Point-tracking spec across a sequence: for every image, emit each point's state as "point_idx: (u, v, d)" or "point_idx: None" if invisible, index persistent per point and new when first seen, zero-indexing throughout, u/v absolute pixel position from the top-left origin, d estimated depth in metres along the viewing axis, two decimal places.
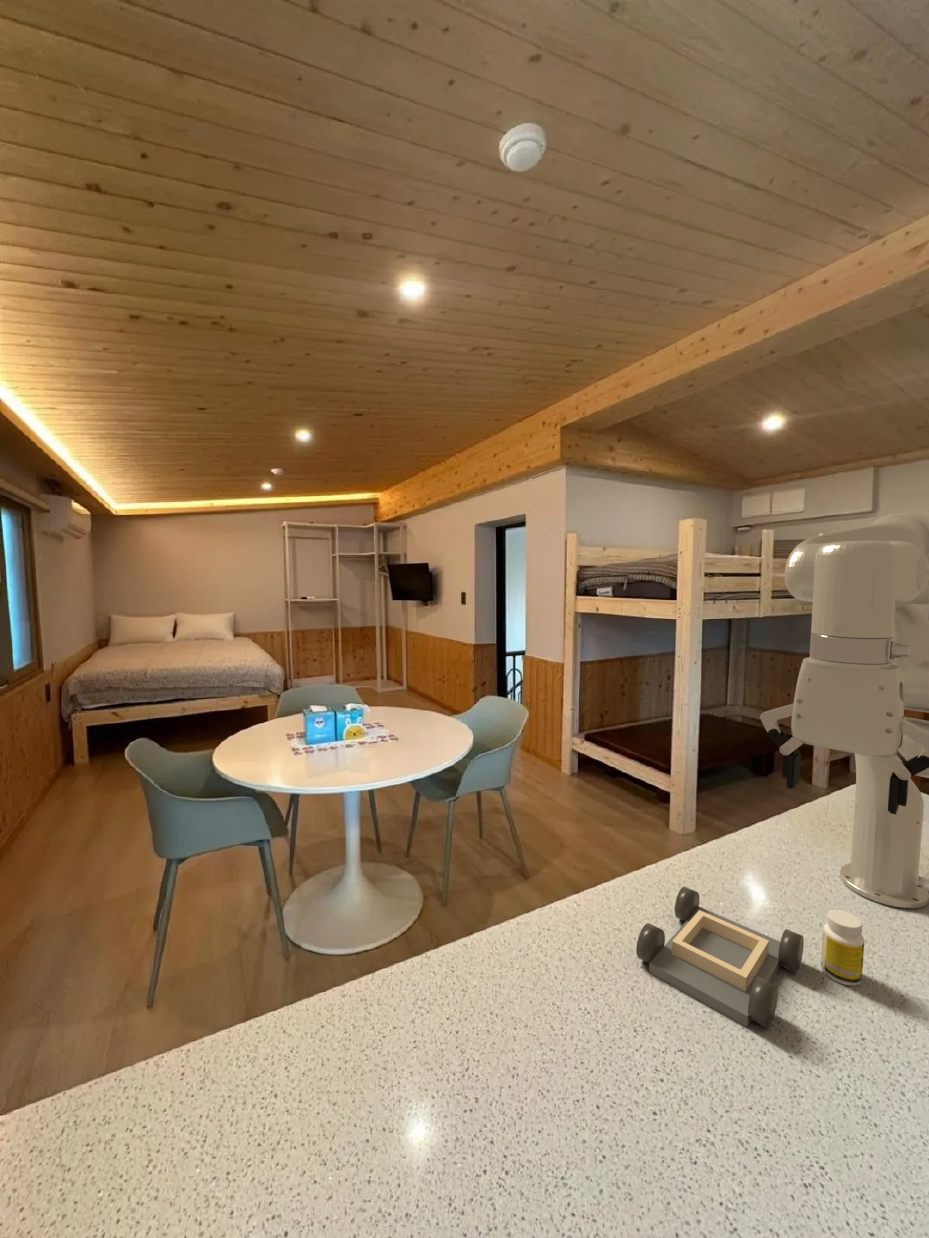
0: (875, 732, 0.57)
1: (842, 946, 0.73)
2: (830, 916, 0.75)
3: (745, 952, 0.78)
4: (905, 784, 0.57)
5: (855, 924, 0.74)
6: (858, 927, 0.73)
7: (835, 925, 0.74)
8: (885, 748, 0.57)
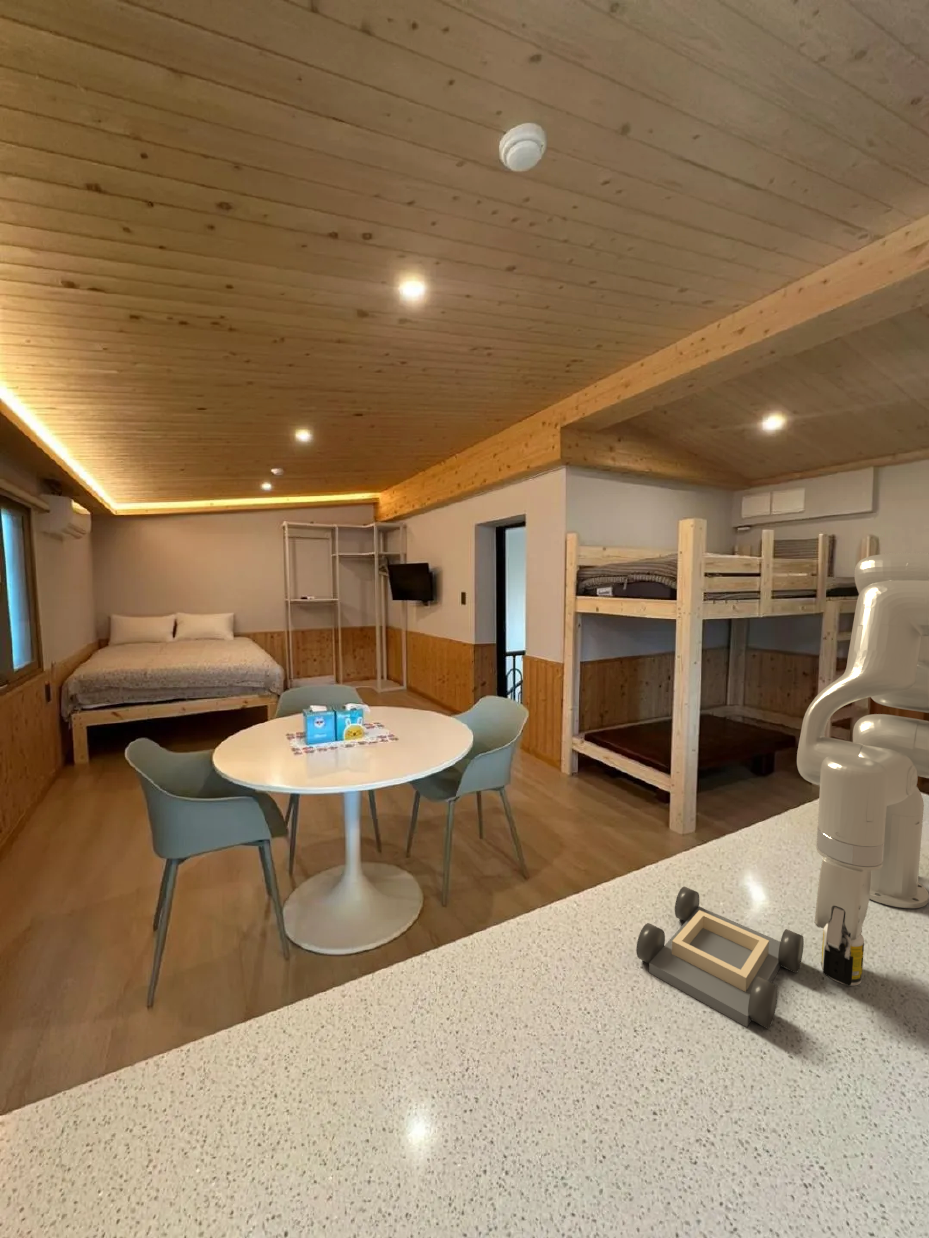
0: None
1: None
2: None
3: (745, 952, 0.78)
4: None
5: None
6: None
7: None
8: None
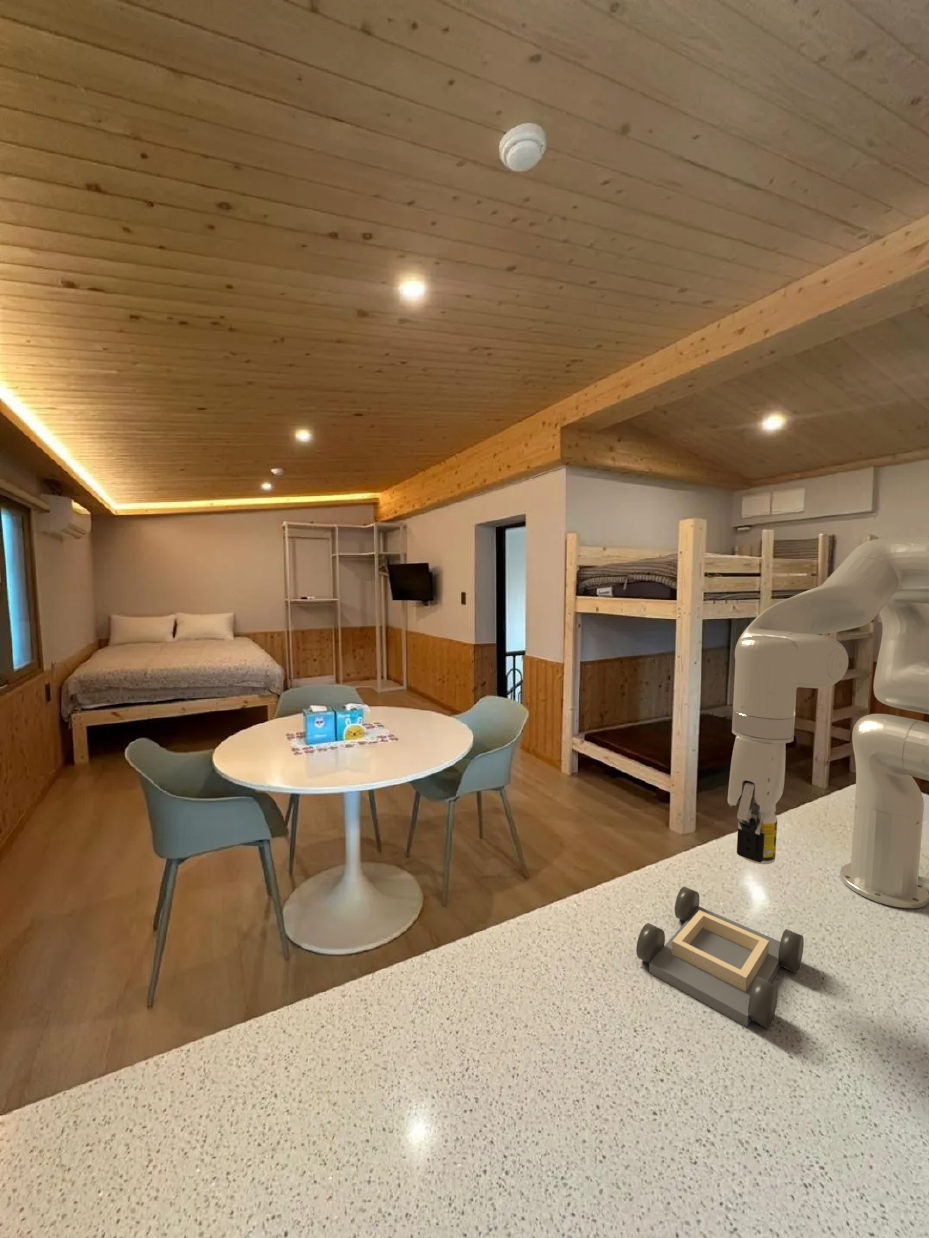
0: (783, 781, 0.75)
1: None
2: None
3: (745, 952, 0.78)
4: None
5: None
6: None
7: None
8: (782, 790, 0.76)
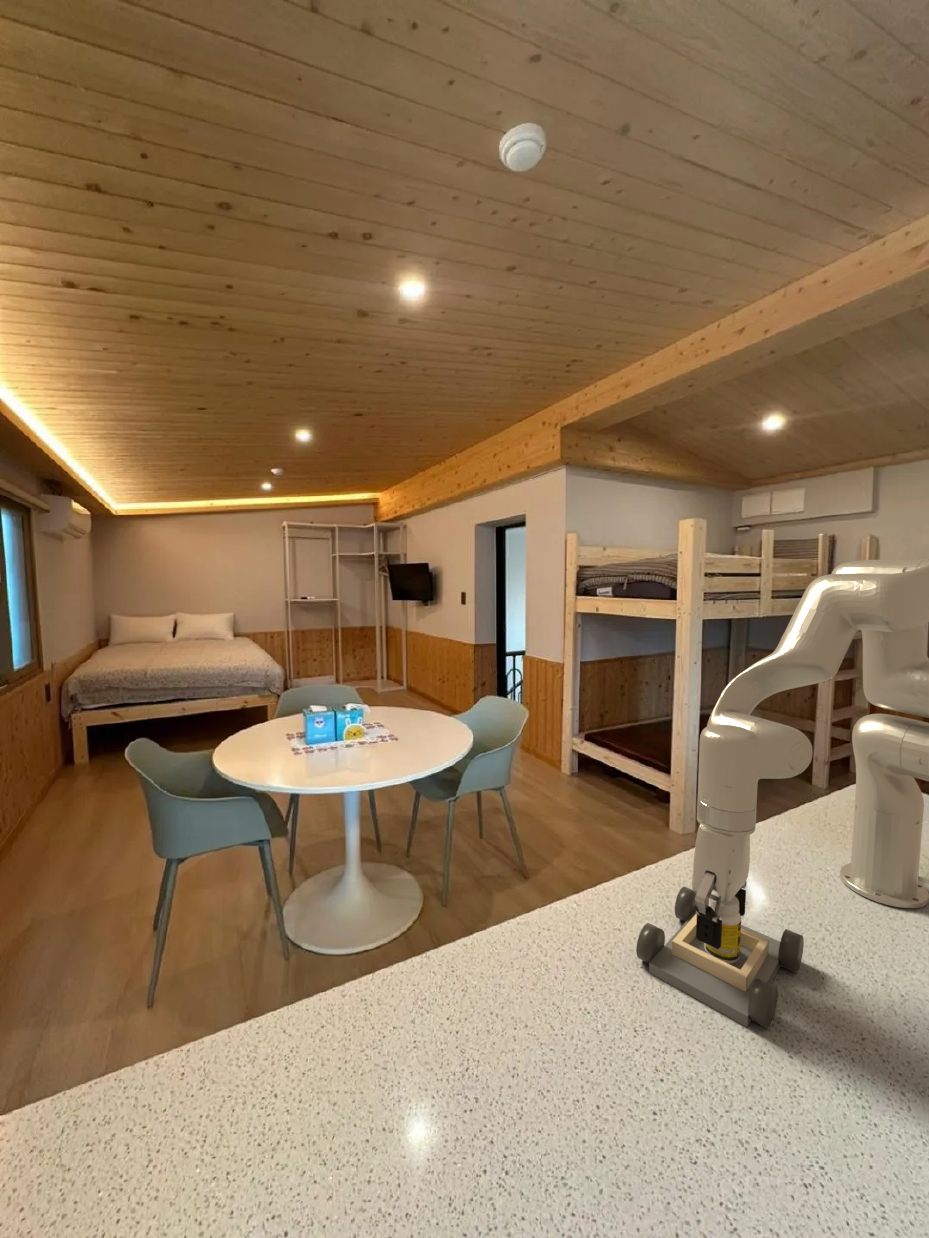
0: (747, 866, 0.77)
1: None
2: None
3: (745, 952, 0.78)
4: None
5: (732, 904, 0.76)
6: (734, 906, 0.75)
7: (713, 905, 0.76)
8: (747, 873, 0.78)
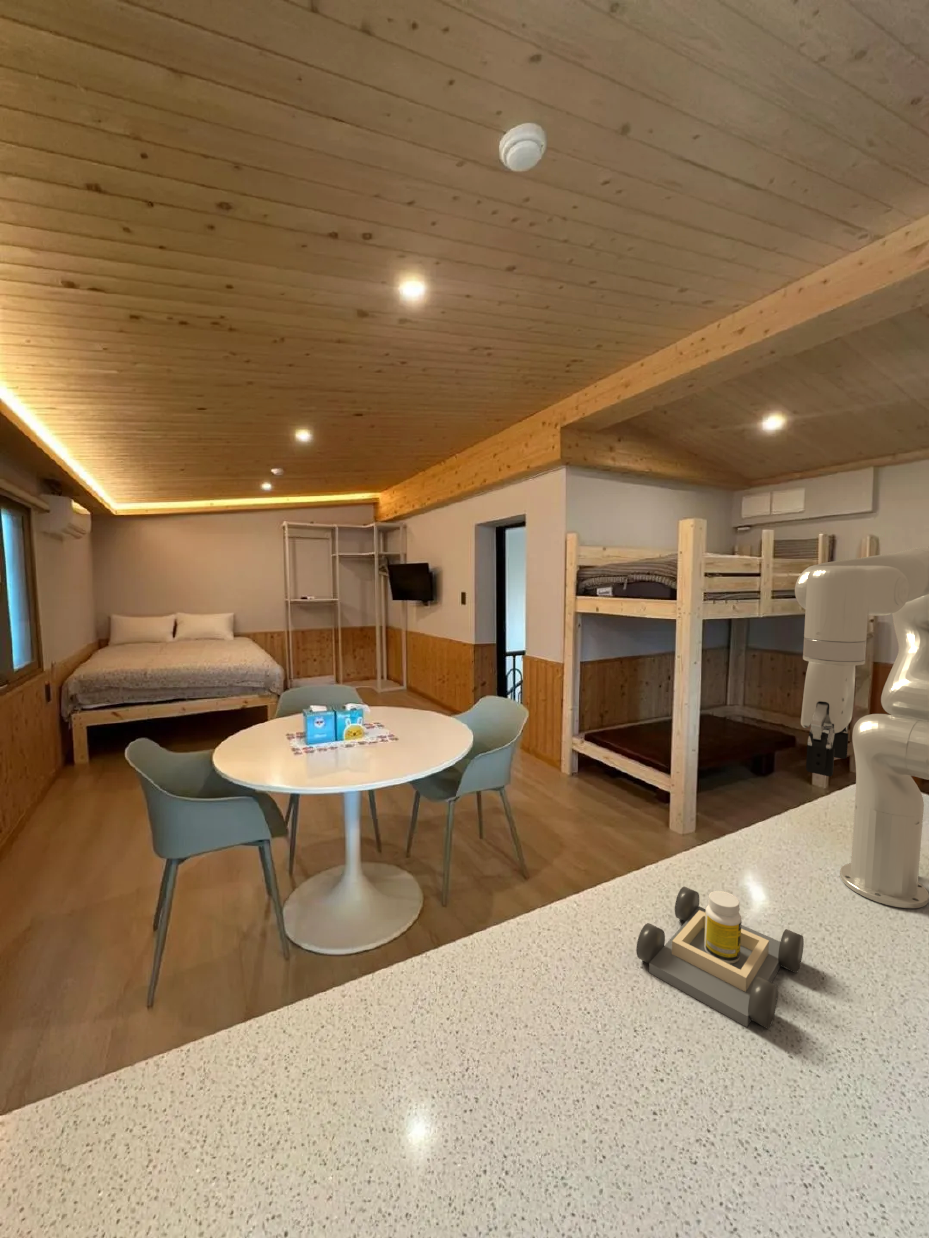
0: (852, 705, 0.79)
1: (720, 925, 0.75)
2: (711, 897, 0.77)
3: (745, 952, 0.78)
4: None
5: (732, 904, 0.76)
6: (734, 907, 0.75)
7: (713, 905, 0.76)
8: (851, 715, 0.80)
